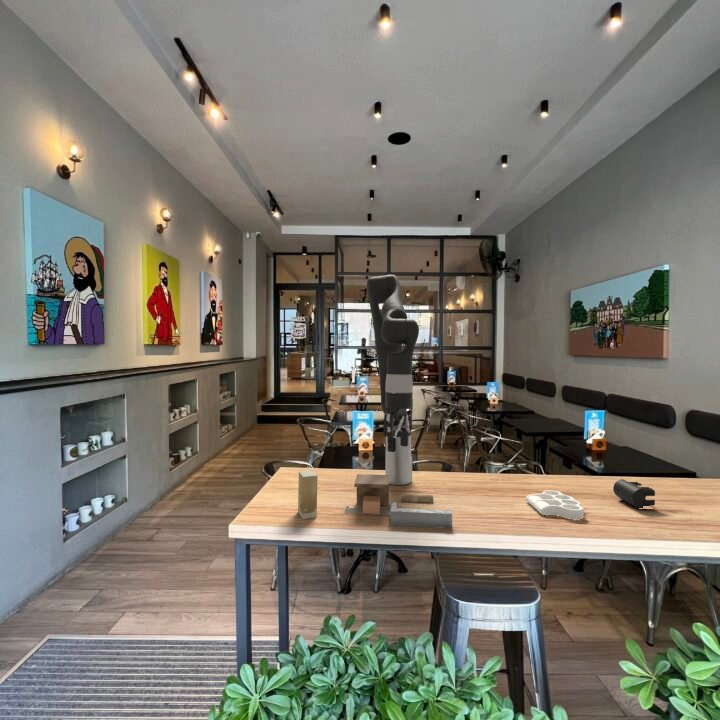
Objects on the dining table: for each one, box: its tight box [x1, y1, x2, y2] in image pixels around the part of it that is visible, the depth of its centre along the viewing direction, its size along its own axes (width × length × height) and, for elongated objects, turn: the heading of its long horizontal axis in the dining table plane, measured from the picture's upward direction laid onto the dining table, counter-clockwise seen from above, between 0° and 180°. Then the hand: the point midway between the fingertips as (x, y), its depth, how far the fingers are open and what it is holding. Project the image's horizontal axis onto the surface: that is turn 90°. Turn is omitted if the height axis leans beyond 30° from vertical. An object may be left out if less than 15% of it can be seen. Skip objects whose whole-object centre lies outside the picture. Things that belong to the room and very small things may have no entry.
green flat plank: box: [343, 505, 430, 516], centre depth 127 cm, size 25×6×1 cm, turn 85°
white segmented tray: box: [525, 489, 586, 520], centre depth 130 cm, size 3×18×15 cm
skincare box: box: [297, 469, 319, 520], centre depth 124 cm, size 6×4×12 cm
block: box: [362, 496, 381, 515], centre depth 127 cm, size 5×5×4 cm
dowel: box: [400, 493, 434, 503], centre depth 136 cm, size 10×2×2 cm
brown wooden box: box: [353, 473, 390, 506], centre depth 129 cm, size 10×10×9 cm
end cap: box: [612, 478, 656, 509], centre depth 135 cm, size 10×7×7 cm
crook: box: [390, 501, 453, 529], centre depth 119 cm, size 16×8×4 cm, turn 85°
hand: (398, 448), depth 119 cm, fingers open, 8 cm apart
